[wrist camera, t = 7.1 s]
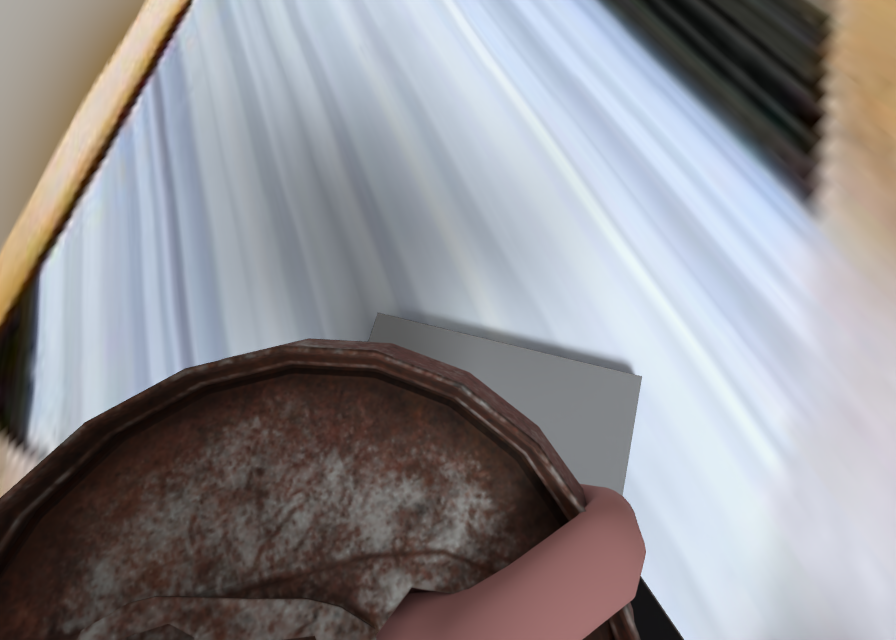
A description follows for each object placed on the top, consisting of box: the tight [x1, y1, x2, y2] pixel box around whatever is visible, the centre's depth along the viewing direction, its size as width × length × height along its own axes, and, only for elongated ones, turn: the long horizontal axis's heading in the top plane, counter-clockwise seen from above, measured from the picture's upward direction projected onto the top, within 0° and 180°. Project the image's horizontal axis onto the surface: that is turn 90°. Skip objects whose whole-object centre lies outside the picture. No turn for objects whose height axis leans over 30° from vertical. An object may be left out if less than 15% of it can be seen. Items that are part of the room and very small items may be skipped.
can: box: [0, 339, 646, 640], centre depth 9 cm, size 6×6×14 cm
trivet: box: [368, 313, 642, 495], centre depth 20 cm, size 14×14×1 cm
